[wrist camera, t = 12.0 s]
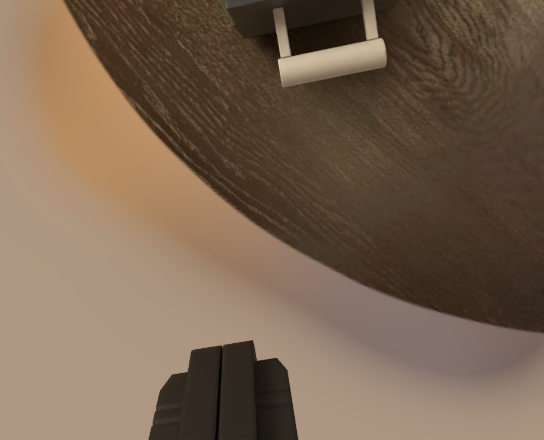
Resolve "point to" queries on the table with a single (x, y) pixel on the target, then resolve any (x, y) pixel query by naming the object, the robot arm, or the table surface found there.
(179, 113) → the table surface
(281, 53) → the fryer drawer
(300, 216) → the table surface
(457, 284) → the table surface
